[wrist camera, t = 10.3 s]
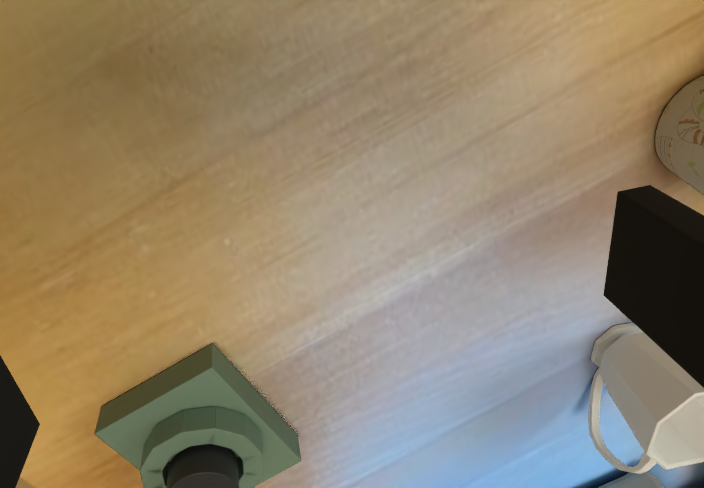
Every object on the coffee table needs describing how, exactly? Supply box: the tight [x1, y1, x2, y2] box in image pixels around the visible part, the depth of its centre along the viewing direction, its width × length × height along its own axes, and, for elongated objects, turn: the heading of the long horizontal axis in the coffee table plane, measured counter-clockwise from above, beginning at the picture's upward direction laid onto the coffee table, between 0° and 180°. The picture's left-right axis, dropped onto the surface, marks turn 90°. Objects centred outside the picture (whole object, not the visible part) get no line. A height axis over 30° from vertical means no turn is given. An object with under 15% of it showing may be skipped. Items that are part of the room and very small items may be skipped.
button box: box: [94, 344, 301, 488], centre depth 34 cm, size 10×8×4 cm
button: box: [167, 444, 239, 488], centre depth 32 cm, size 4×4×2 cm
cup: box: [588, 323, 704, 474], centre depth 37 cm, size 7×10×8 cm
